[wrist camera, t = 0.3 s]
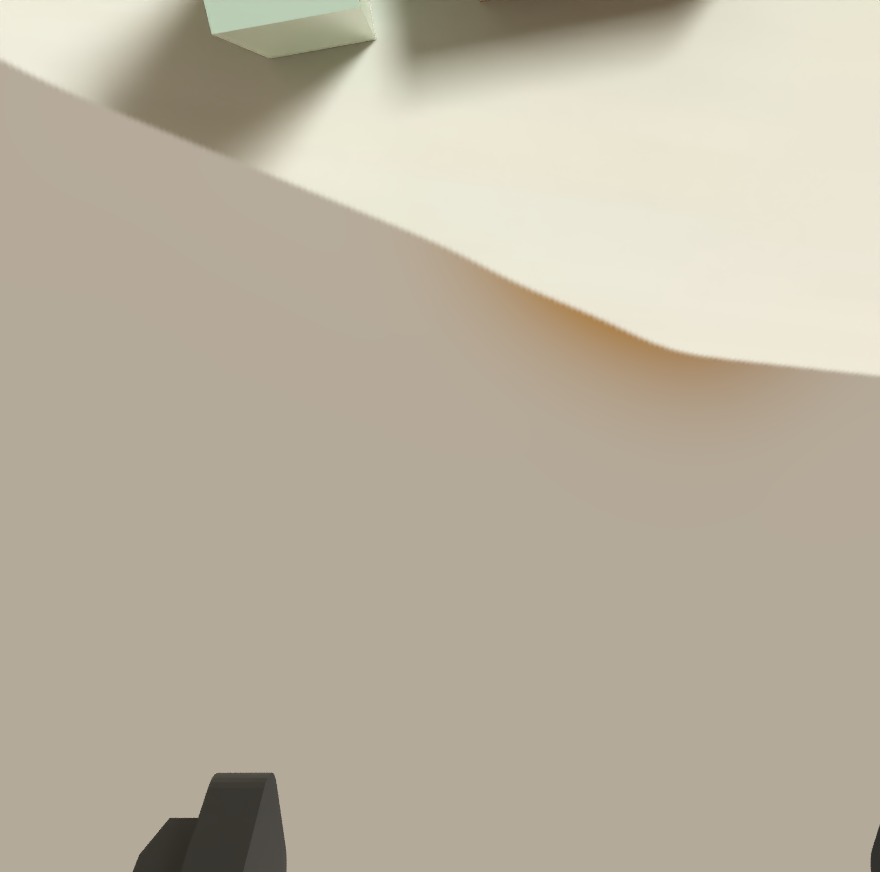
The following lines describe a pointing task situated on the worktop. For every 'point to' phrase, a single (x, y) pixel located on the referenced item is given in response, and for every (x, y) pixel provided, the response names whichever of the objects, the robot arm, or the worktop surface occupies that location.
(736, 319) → the worktop surface
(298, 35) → the sage green pillar
